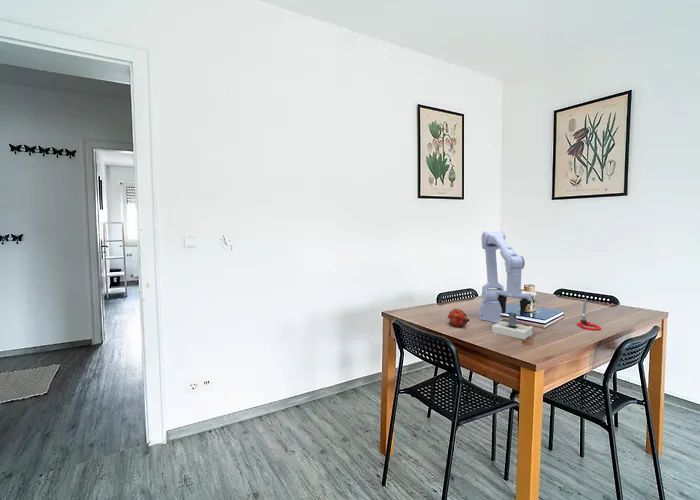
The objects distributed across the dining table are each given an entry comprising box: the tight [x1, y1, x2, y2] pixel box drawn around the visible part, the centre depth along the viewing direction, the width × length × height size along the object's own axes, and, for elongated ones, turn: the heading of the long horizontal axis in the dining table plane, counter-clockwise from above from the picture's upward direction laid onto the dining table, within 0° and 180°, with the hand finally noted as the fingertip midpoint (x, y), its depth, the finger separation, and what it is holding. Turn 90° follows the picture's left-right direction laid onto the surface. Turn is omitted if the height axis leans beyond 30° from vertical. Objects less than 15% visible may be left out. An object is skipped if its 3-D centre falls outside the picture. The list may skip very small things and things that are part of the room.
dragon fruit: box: [447, 308, 470, 328], centre depth 178 cm, size 8×8×12 cm
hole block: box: [491, 320, 534, 340], centre depth 166 cm, size 14×10×3 cm
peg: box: [508, 312, 517, 329], centre depth 165 cm, size 3×3×9 cm
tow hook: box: [575, 298, 602, 332], centre depth 173 cm, size 8×13×9 cm
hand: (512, 314), depth 165 cm, fingers open, 7 cm apart
